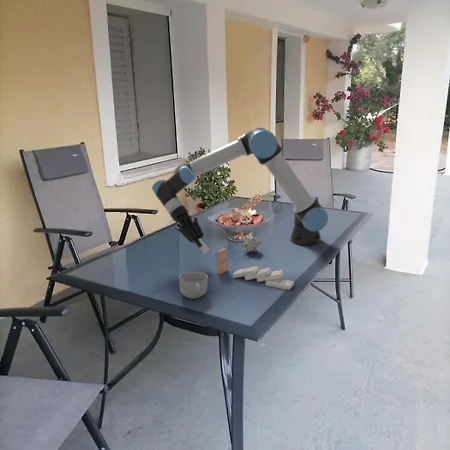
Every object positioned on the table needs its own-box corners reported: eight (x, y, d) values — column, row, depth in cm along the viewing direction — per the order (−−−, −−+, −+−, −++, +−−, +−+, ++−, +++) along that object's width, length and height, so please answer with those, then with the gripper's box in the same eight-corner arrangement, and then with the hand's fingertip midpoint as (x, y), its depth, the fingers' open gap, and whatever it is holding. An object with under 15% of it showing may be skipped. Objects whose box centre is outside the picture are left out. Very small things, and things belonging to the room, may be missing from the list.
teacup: (180, 290, 171) (179, 271, 169) (208, 288, 172) (207, 269, 170) (179, 306, 158) (178, 286, 155) (209, 304, 159) (208, 284, 156)
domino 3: (244, 276, 177) (267, 271, 173) (247, 272, 182) (270, 267, 178) (245, 280, 177) (268, 275, 173) (249, 276, 182) (271, 270, 178)
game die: (254, 260, 208) (259, 248, 200) (237, 253, 209) (241, 241, 201) (259, 246, 214) (264, 234, 206) (243, 239, 215) (247, 227, 207)
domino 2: (232, 274, 180) (253, 270, 175) (237, 269, 184) (258, 265, 179) (233, 278, 180) (255, 274, 175) (238, 273, 185) (259, 269, 180)
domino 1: (217, 273, 186) (216, 251, 183) (224, 269, 189) (223, 247, 186) (220, 274, 184) (219, 252, 182) (227, 270, 188) (227, 248, 185)
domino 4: (256, 278, 175) (280, 273, 172) (259, 273, 180) (282, 269, 176) (257, 282, 175) (281, 277, 172) (260, 277, 180) (283, 273, 176)
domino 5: (265, 281, 172) (289, 286, 168) (270, 277, 177) (293, 281, 172) (265, 285, 173) (289, 290, 168) (270, 281, 177) (293, 285, 172)
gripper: (182, 211, 203) (211, 252, 198) (162, 218, 193) (192, 261, 188) (190, 201, 198) (220, 243, 193) (170, 208, 188) (201, 251, 183)
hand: (206, 251), depth 190 cm, fingers closed
